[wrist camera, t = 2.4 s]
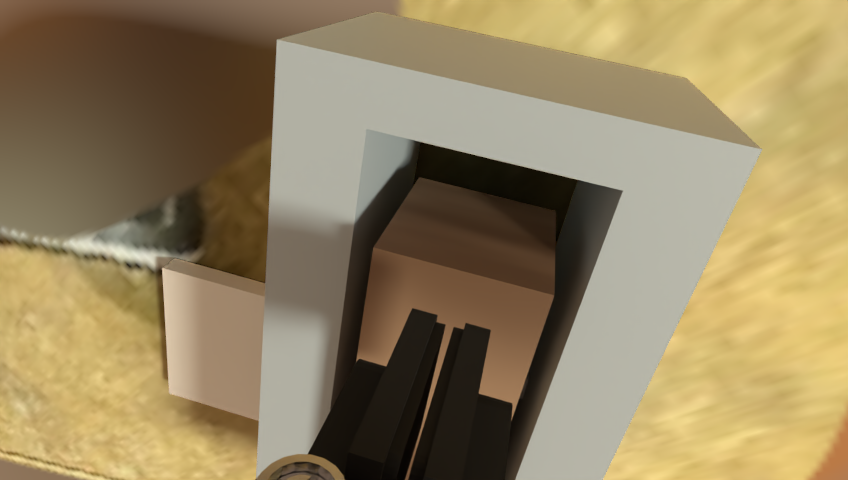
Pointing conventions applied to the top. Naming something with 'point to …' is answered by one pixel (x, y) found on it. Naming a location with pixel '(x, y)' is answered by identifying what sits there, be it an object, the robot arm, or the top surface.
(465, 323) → the robot arm
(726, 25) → the top surface
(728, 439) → the top surface
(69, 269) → the top surface
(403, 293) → the walnut block
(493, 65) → the frame
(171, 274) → the stone tile
